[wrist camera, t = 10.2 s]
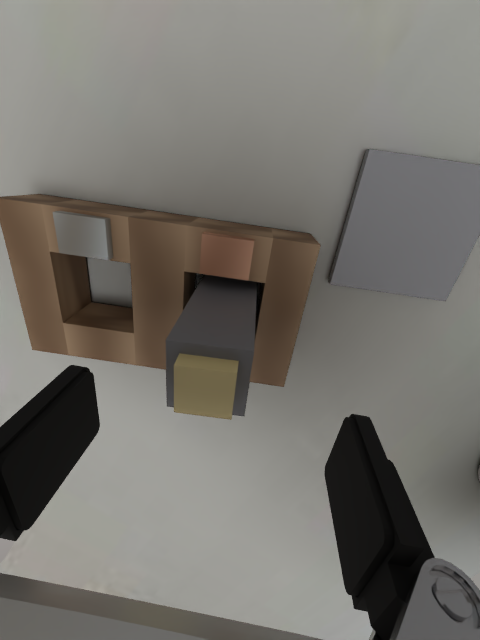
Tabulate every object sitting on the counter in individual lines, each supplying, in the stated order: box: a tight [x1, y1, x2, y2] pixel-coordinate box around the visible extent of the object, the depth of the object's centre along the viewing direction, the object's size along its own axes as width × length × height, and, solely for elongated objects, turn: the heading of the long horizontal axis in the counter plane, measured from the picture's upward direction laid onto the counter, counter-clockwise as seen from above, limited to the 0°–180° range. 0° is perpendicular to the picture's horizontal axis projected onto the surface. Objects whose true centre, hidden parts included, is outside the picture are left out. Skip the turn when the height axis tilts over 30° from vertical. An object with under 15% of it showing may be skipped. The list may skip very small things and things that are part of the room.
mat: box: [328, 149, 480, 301], centre depth 18 cm, size 8×8×1 cm
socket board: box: [0, 194, 320, 387], centre depth 19 cm, size 18×10×4 cm, turn 83°
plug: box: [166, 274, 257, 420], centre depth 16 cm, size 4×4×11 cm
